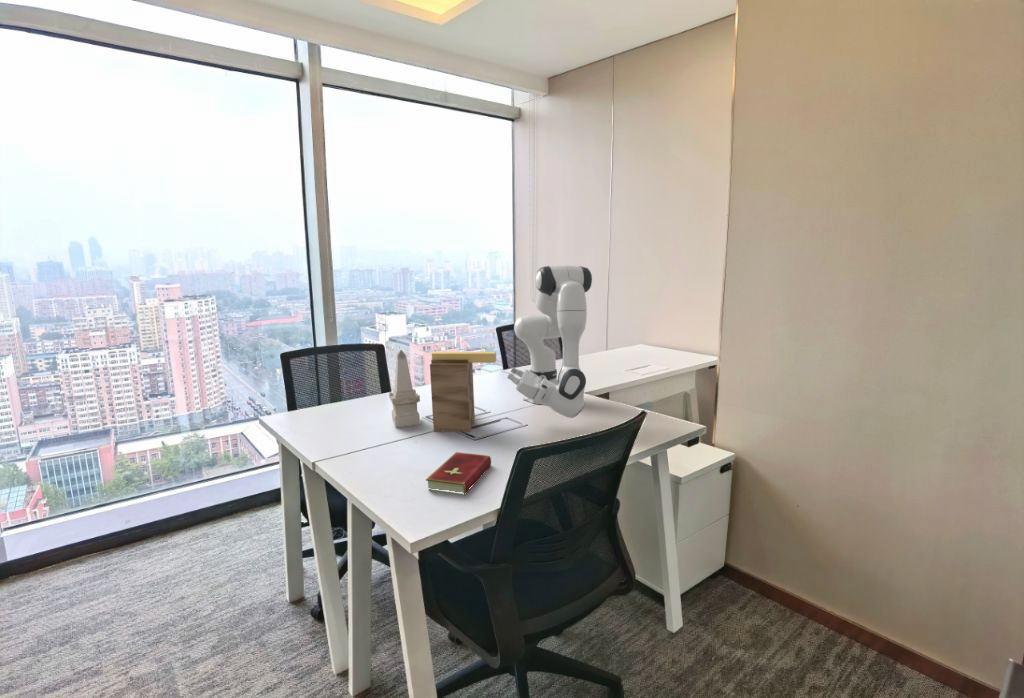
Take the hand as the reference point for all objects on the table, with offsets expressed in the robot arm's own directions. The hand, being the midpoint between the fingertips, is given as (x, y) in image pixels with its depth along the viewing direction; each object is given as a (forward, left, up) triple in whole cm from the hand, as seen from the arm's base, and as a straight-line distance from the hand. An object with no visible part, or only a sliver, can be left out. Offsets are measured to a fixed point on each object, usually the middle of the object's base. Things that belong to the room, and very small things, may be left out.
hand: (510, 372), depth 196 cm
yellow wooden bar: (0, -17, +4) cm, 18 cm away
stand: (0, -22, -22) cm, 31 cm away
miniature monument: (-4, -43, -22) cm, 49 cm away
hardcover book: (+45, -10, -23) cm, 51 cm away
